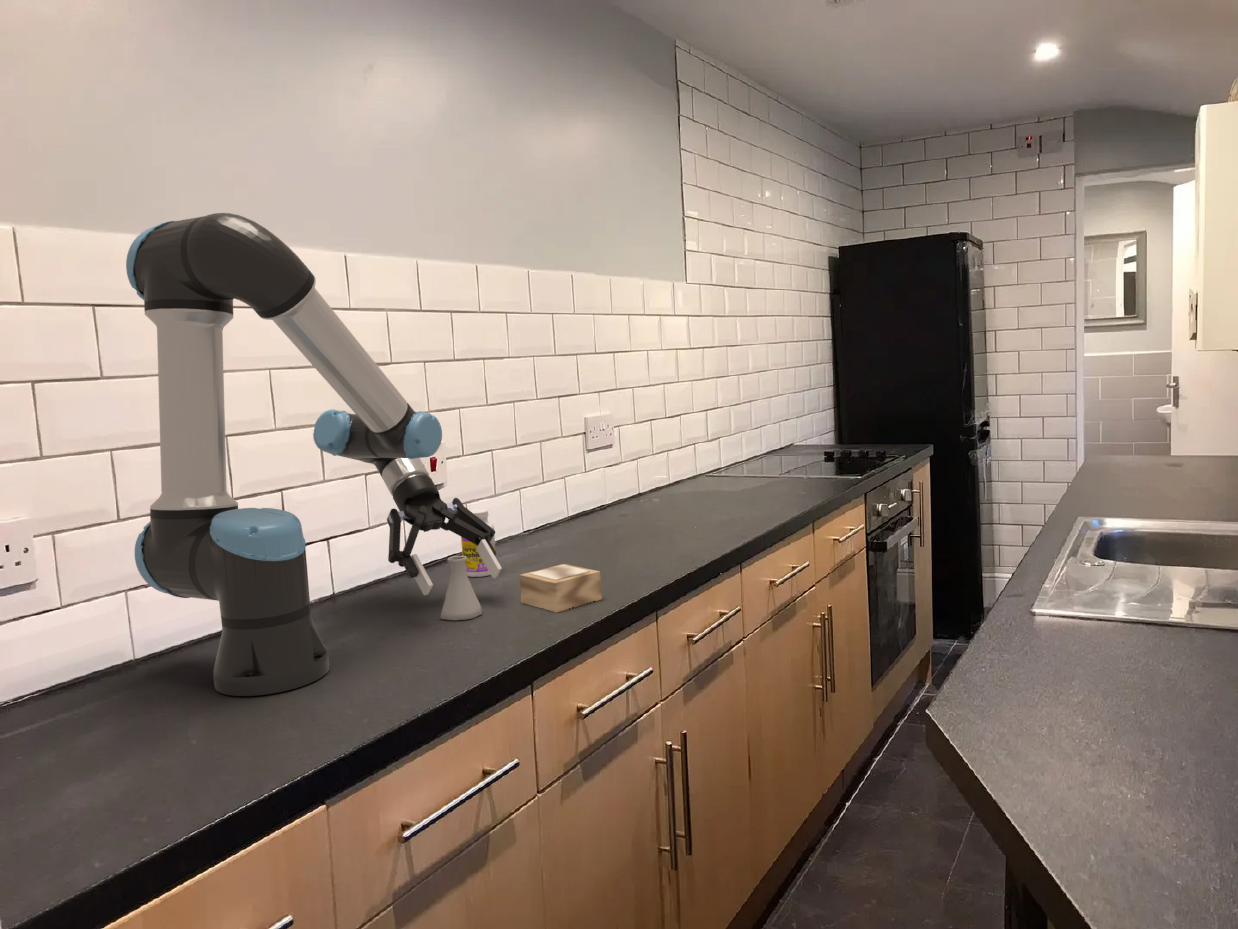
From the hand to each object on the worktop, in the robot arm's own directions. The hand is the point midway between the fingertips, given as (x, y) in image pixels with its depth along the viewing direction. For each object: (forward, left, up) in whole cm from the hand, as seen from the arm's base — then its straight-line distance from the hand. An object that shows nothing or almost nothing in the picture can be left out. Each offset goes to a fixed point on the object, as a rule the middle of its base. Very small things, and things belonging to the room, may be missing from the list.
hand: (464, 581), depth 153 cm
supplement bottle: (+18, +24, -6) cm, 31 cm away
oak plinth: (+15, -6, -6) cm, 18 cm away
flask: (-1, +1, -6) cm, 6 cm away
